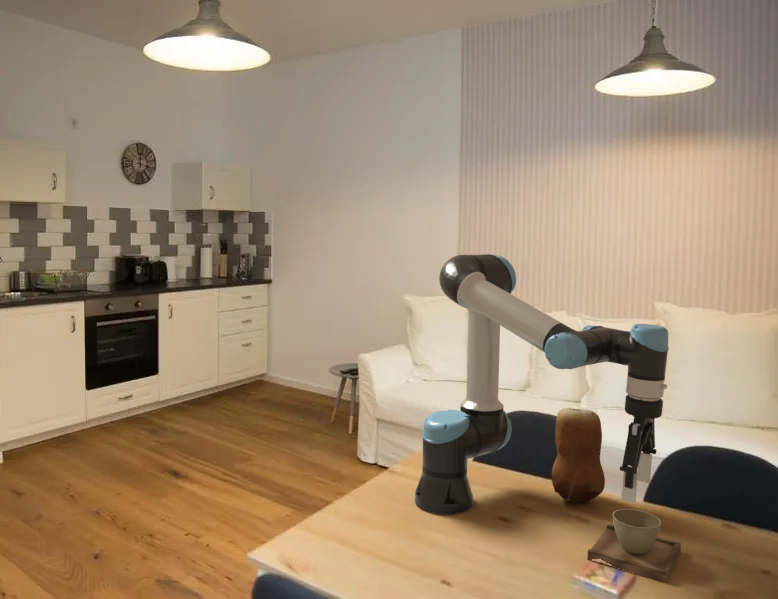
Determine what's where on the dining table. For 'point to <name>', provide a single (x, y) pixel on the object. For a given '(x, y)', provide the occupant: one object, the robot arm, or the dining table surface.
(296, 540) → the dining table surface
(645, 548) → the flower pot
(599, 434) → the butternut squash
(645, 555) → the walnut board
